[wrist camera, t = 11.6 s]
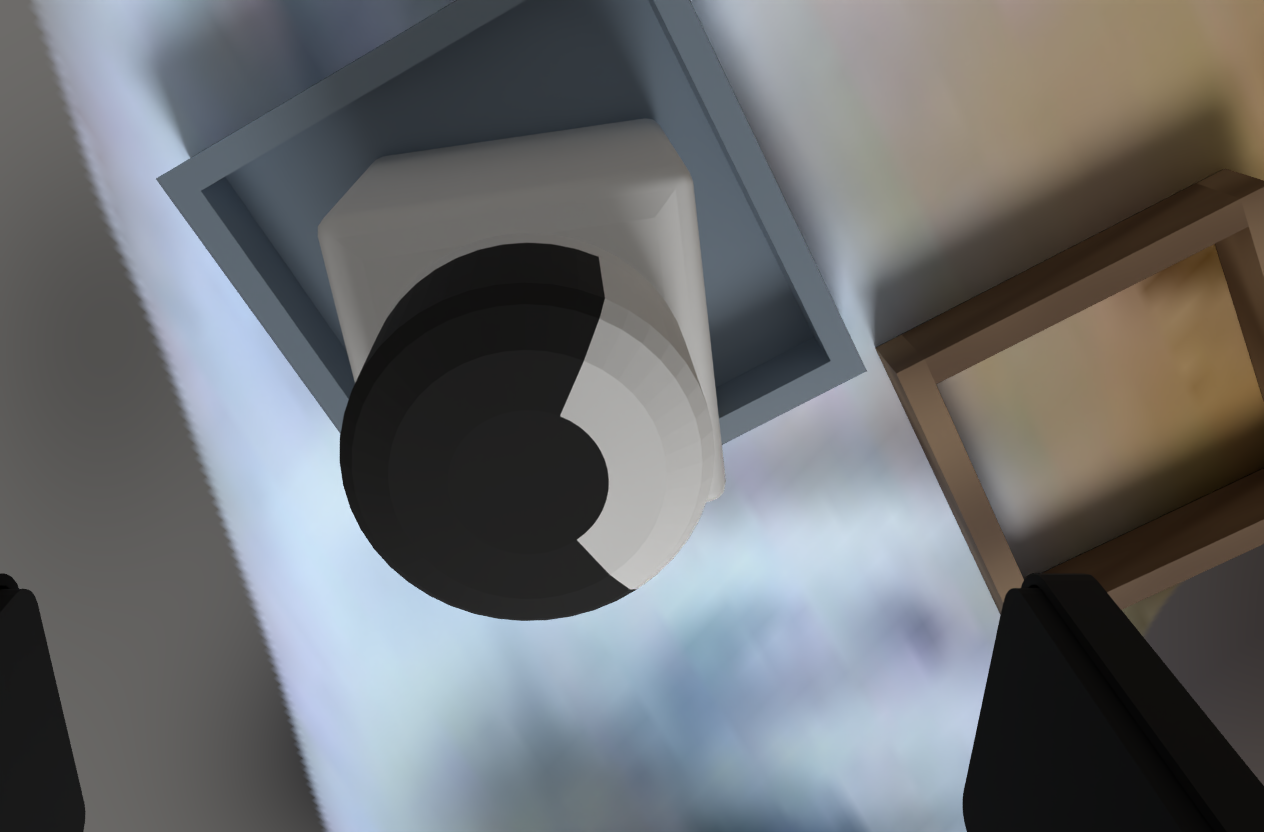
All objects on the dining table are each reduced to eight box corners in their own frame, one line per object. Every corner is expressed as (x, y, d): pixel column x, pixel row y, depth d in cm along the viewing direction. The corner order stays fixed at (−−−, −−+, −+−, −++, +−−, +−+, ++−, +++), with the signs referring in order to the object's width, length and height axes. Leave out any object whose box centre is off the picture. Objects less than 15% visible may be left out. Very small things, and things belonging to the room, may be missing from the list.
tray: (190, 159, 26) (155, 178, 24) (630, -101, 25) (638, -108, 23) (456, 537, 31) (449, 583, 29) (842, 338, 30) (866, 371, 27)
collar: (875, 347, 30) (896, 373, 28) (1224, 168, 28) (1271, 182, 27) (1000, 615, 34) (1026, 653, 32) (1313, 468, 32) (1360, 499, 30)
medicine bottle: (429, 420, 29) (354, 702, 18) (369, 156, 26) (236, 298, 15) (690, 381, 29) (773, 639, 18) (658, 113, 26) (733, 225, 15)
